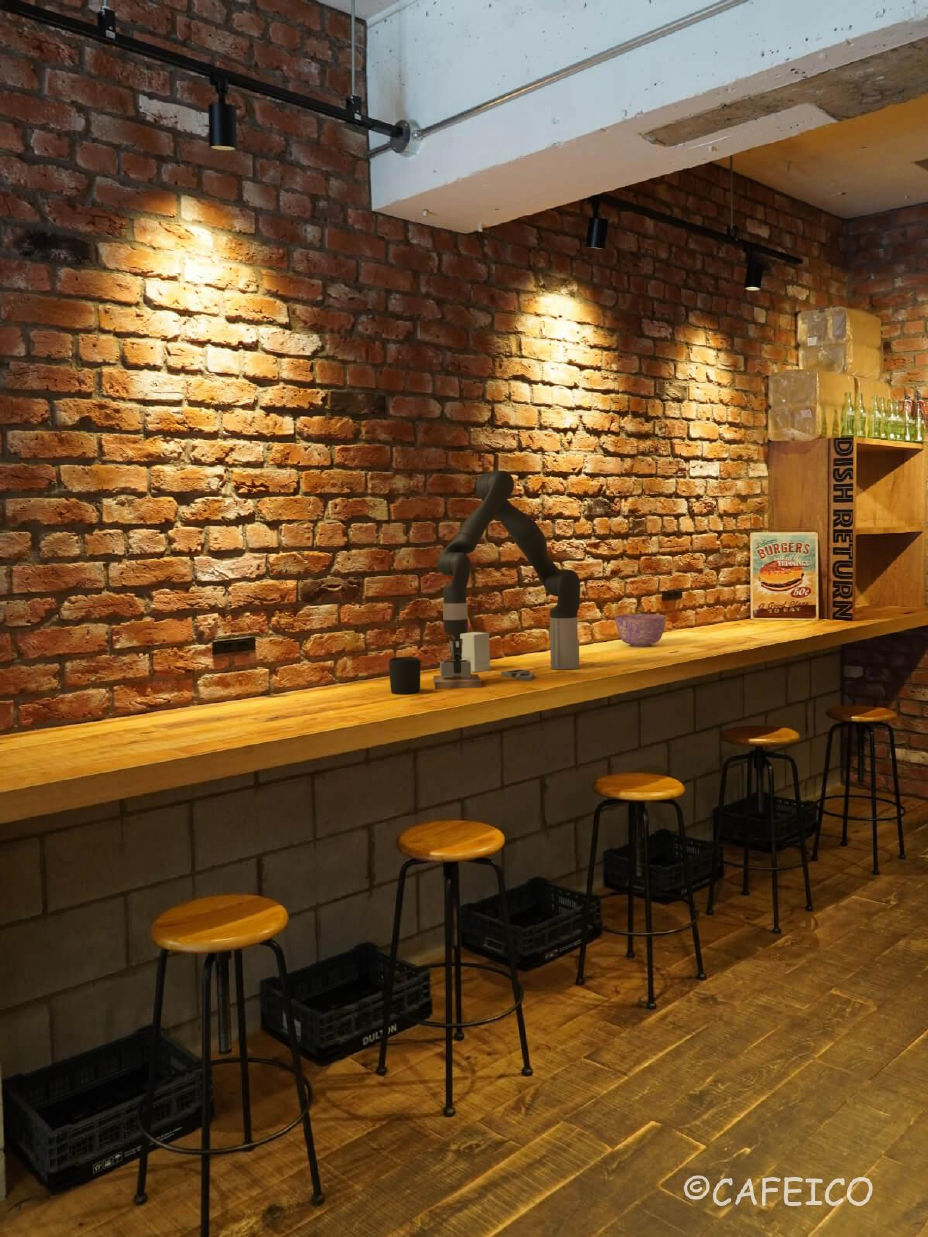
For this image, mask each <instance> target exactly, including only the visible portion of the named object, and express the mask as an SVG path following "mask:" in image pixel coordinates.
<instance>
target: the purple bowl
mask: <svg viewBox="0 0 928 1237" xmlns="http://www.w3.org/2000/svg"><path fill="white" fill-rule="evenodd" d="M614 620H615V624H616V629H617V632H618V635H619V638H620V639H621V641H622V642H623V643H624V644H627V645H629V646H630V647H631V648H632V647H633V648H647V647H648V648H649V647H652V645H654V644H656V643H658V642H659V641H660V640H661V638H662V637H663V633H664V630H665V626H666V620H667V616H666V615H663V614H651V613H650V614H647V613H642V614H641V613H640V614H639V613H637V614H634V613H633V614H621V615H615V616H614Z"/></svg>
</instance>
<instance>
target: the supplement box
mask: <svg viewBox="0 0 928 1237" xmlns="http://www.w3.org/2000/svg"><path fill="white" fill-rule="evenodd" d="M461 638H462V639H463V645H462V650H463V652H462V660H469V661H470V662H471V673H477V672H478V673H480V672H486V671H490V670H491V659H490V658H491V656H490V655H491V654H490V633H489V632H479V631H472V632H467V633H463V634H460V639H461Z"/></svg>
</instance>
